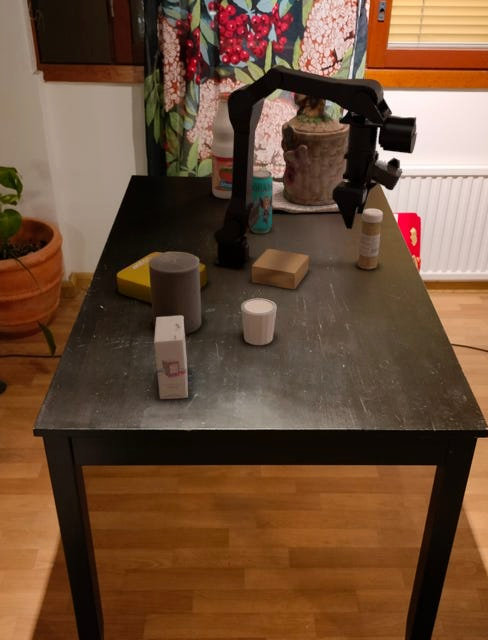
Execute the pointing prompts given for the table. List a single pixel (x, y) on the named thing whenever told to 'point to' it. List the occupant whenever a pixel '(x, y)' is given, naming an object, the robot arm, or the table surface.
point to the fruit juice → (222, 150)
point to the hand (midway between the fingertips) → (354, 220)
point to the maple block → (280, 268)
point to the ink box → (171, 357)
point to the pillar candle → (176, 288)
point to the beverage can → (263, 200)
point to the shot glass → (258, 320)
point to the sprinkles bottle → (370, 238)
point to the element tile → (144, 279)
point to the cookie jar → (311, 159)
